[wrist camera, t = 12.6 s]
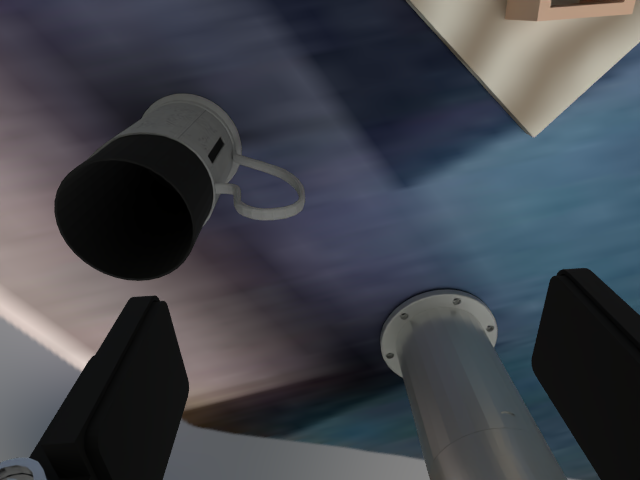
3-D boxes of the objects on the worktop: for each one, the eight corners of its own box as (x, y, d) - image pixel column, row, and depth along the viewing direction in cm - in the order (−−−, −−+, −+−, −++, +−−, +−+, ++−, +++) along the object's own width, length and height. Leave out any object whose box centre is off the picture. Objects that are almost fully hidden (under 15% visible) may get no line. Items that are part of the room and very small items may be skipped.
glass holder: (128, 92, 35) (20, 144, 21) (305, 95, 35) (305, 148, 22) (146, 193, 39) (65, 289, 26) (304, 195, 39) (304, 290, 26)
